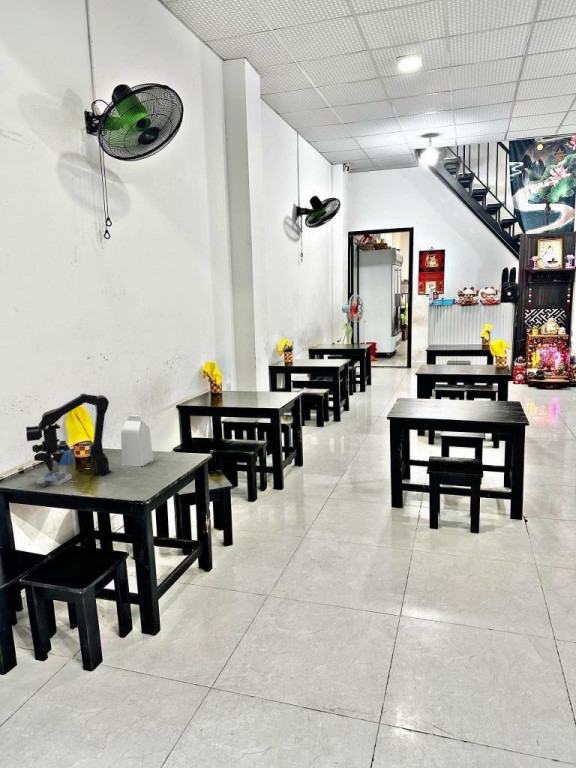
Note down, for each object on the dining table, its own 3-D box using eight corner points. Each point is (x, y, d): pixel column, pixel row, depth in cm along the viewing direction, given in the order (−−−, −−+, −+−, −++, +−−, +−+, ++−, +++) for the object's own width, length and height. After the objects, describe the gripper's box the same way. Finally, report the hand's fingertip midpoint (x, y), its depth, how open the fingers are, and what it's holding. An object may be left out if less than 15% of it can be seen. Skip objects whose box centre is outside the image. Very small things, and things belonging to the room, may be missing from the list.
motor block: (72, 478, 262) (71, 470, 261) (53, 488, 249) (52, 480, 248) (50, 476, 265) (49, 469, 264) (31, 486, 251) (30, 478, 251)
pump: (60, 470, 260) (59, 460, 259) (55, 473, 255) (54, 463, 254) (52, 470, 260) (51, 460, 260) (47, 473, 256) (45, 463, 255)
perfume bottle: (56, 464, 283) (54, 443, 281) (61, 461, 289) (59, 439, 287) (68, 464, 284) (66, 442, 281) (72, 460, 290) (70, 439, 288)
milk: (121, 465, 280) (118, 417, 275) (134, 459, 290) (130, 412, 286) (141, 467, 276) (138, 418, 272) (153, 460, 287) (150, 413, 283)
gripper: (48, 432, 266) (51, 462, 268) (22, 443, 248) (26, 475, 251) (68, 433, 263) (71, 463, 266) (43, 444, 245) (46, 476, 248)
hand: (53, 469), depth 258 cm, fingers closed on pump, 4 cm apart
